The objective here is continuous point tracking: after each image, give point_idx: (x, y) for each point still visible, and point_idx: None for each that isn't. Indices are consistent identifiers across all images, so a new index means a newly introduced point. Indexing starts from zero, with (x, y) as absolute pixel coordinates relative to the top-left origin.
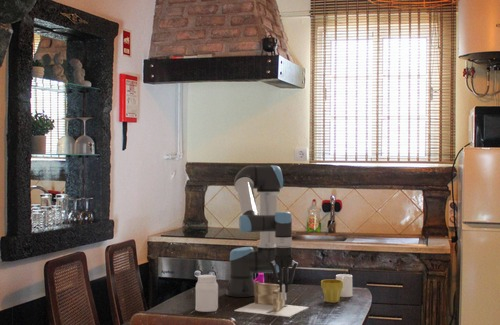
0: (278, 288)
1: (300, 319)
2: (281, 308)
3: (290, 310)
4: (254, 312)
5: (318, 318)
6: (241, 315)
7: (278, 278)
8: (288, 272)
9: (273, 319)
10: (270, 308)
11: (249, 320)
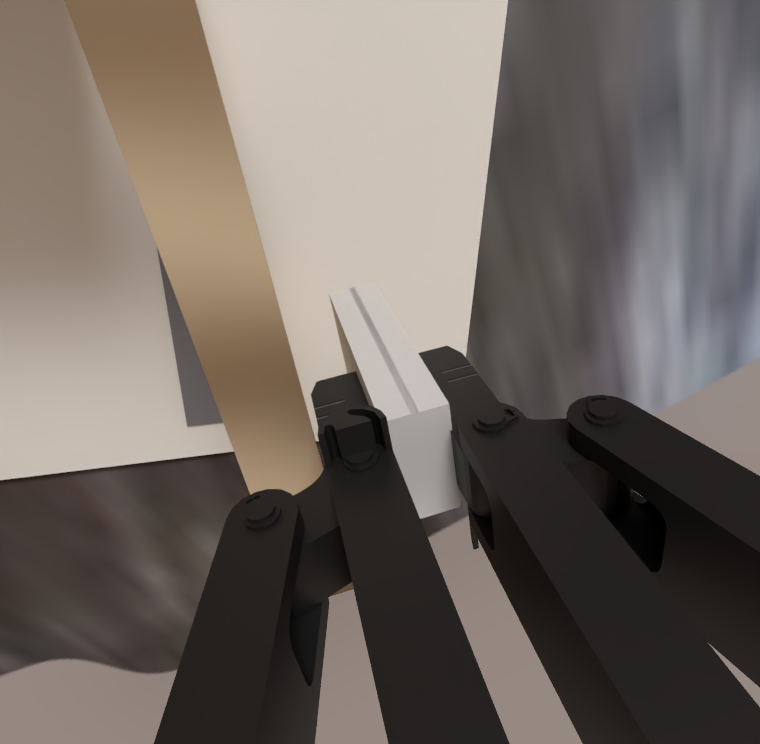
0: (196, 307)
1: None
2: None
3: (370, 170)
4: (60, 469)
5: (697, 330)
6: (26, 588)
7: (288, 586)
8: (714, 662)
9: None
10: (61, 181)
11: None
